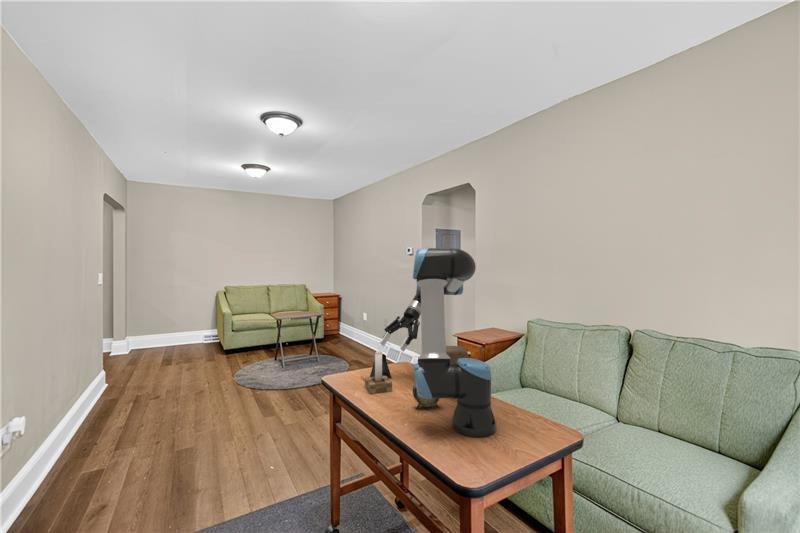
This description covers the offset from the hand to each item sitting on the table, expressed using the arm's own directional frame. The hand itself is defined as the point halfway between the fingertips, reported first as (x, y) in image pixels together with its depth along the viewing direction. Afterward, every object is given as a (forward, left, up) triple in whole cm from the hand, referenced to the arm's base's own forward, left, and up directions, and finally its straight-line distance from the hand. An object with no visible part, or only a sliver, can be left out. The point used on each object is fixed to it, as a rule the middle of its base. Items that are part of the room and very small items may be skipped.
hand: (391, 347), depth 168 cm
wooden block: (-20, -23, -18) cm, 35 cm away
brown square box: (-4, +7, -17) cm, 19 cm away
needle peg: (-4, +7, -17) cm, 19 cm away
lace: (+8, +10, -17) cm, 22 cm away
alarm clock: (-29, -6, -18) cm, 34 cm away
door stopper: (+10, +2, -18) cm, 21 cm away
